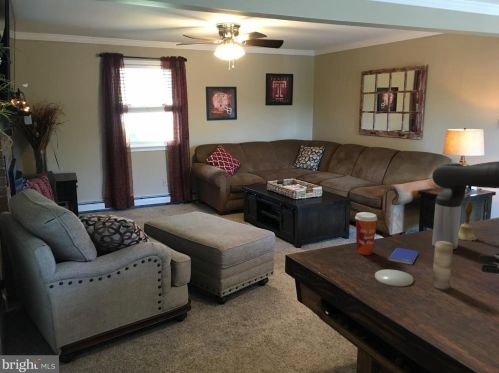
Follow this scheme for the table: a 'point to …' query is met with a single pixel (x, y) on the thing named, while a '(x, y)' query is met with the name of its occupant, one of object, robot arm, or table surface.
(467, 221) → the hand bell
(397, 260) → the hard drive
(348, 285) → the table surface
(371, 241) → the coffee cup
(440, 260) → the wooden cylinder
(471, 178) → the robot arm
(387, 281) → the white plate
